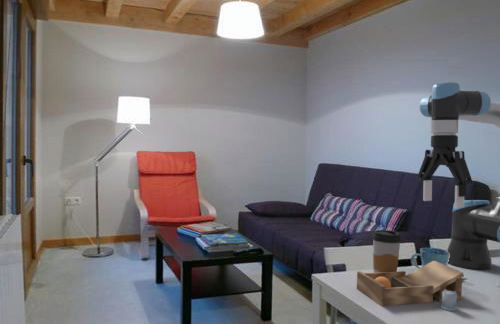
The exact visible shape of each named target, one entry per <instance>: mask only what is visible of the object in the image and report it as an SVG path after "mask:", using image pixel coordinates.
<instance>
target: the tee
mask: <svg viewBox="0 0 500 324" xmlns="http://www.w3.org/2000/svg"><path fill="white" fill-rule="evenodd" d="M457 301H458V300H457V293H456V292H455V291H453V292H452V291H447V290H445V291H443V292H442V301H441V304H440V308H441V309H442V310H445V311H449V312H456V311H458V306H457Z"/></svg>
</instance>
